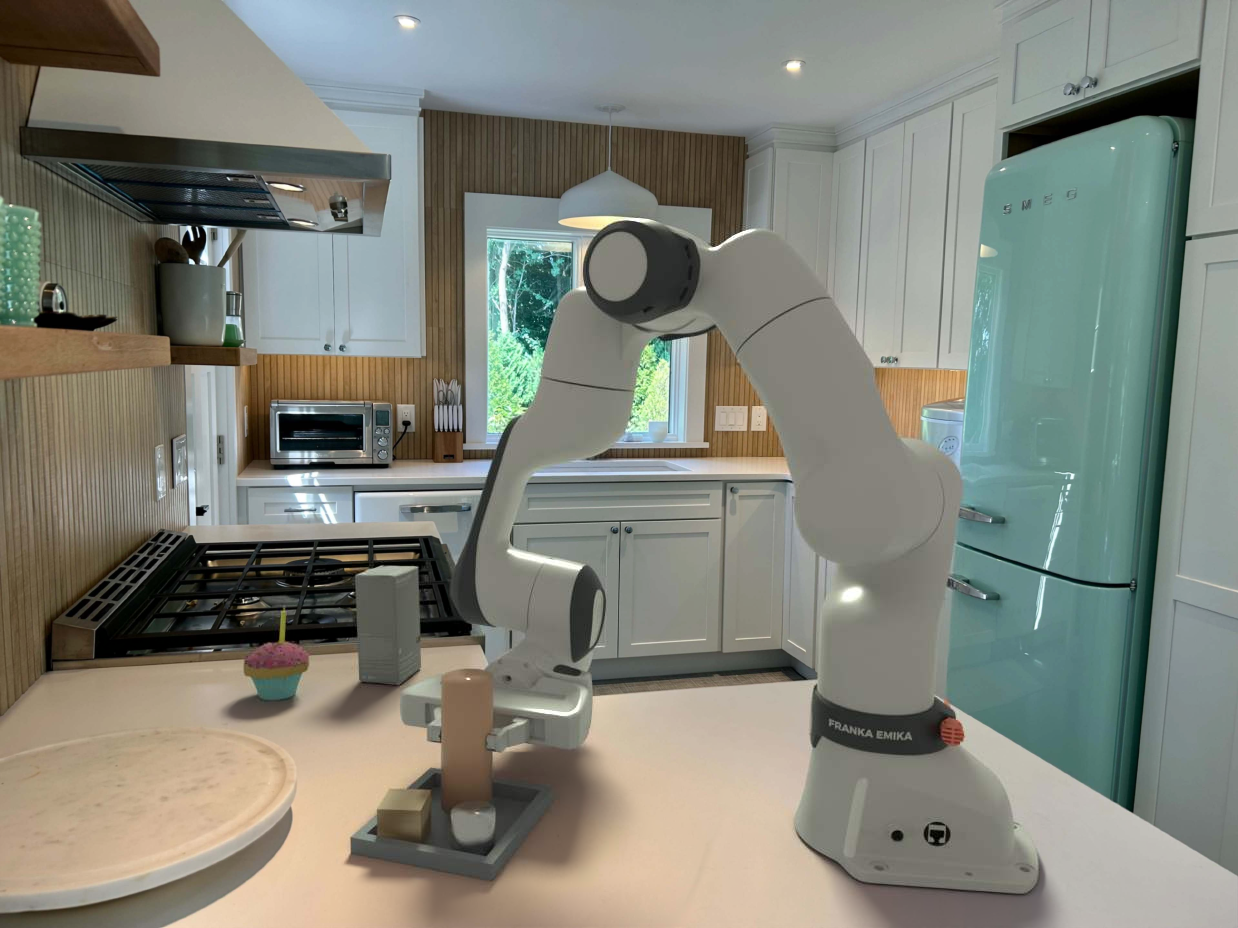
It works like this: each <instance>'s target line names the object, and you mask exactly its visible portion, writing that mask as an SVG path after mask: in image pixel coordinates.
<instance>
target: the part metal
mask: <svg viewBox="0 0 1238 928" xmlns="http://www.w3.org/2000/svg"><path fill="white" fill-rule="evenodd" d="M494 847H495V807H494V806H493V805H492V804H490V803H488V802H484V801H468V802H463V803H460V804H458V805H456V806H455V807H454V808H453V809H452V810H451V850H455V851H460V852H466V853H471V854H476V855H482V856H487V855H488V854H489V853H490V852H491V850H492V849H493V848H494Z"/></svg>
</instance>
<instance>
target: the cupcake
mask: <svg viewBox="0 0 1238 928" xmlns="http://www.w3.org/2000/svg"><path fill="white" fill-rule="evenodd" d="M282 609H283V610H281V612H280V613H281V614H280V622H279V623H280V624H279V625H280V626H279V627H280V628H279V639H278V641H277V642H273V643H272V642H267V643H263V644H261V645H259V646H258V647H257V648H256V649H254V650H252V652H250V653H249V654H248V655H246V657H245V659H244V660H243V661H244V663H243V674H244V676H245V677H248V678H249V677H250V679H251V680H252V682H253V684H254V686H255V690H256V693H257V695H258V697H259V698H260V700H261V699H262V700H265V701H281V700H285V699H288V698H291V697H293V696H294V695H295V694H296V692H297V689H298V686H299V683H300V680H301V677H302V675H303V673H305V672H307V671H308V669H309V667H310V658H309V657H310V652H307V650H306V649H305V648H304V647H302V646H301V645H299V644H295V643H291V642H289V641H285V639H286V638H285V637H286V623H287V622H286V620H287V611H286V605H285V604H284V605H283V608H282Z"/></svg>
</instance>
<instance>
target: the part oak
mask: <svg viewBox="0 0 1238 928" xmlns="http://www.w3.org/2000/svg"><path fill="white" fill-rule="evenodd" d="M376 815H377V836H382V837H387V838H392V839H397V840H403V841H408V842H413V843H418V844H425V842H426V840H427V838H428V835H429V833H430V831H431V790H419V789H407V788H388V790H387V792H386V794H385V795H384V796H383V798H382V800H381V801H380V803H379V805H378V806H377V809H376Z"/></svg>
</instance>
